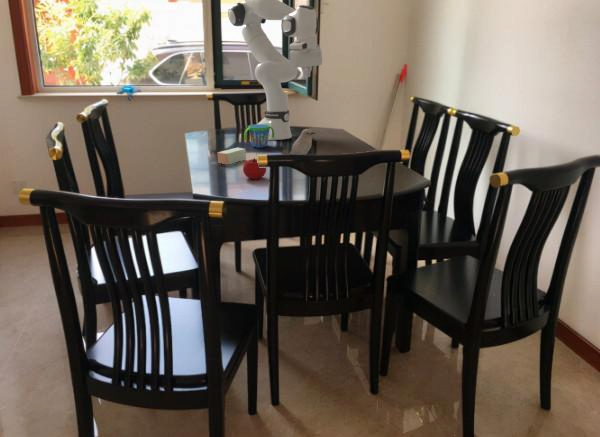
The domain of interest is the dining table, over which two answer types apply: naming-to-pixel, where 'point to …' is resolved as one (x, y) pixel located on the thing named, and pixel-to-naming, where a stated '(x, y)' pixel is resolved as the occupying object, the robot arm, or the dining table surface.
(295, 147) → the bird
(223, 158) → the tall block
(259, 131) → the snack cup
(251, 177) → the tomato
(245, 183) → the dining table surface
